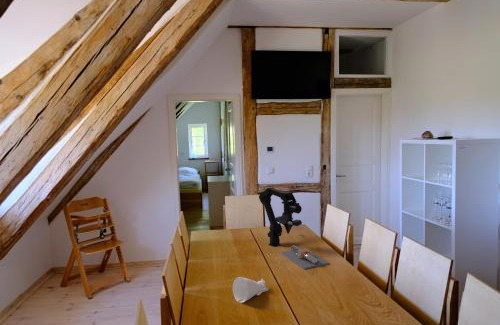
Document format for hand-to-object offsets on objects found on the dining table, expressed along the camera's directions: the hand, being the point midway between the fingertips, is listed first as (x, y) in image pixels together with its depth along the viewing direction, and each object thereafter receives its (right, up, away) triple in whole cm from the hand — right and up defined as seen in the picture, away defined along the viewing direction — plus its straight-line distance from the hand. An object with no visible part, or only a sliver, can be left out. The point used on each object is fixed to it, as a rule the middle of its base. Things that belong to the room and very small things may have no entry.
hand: (288, 233), depth 219 cm
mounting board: (+9, -13, -14) cm, 21 cm away
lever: (+4, -11, -15) cm, 19 cm away
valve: (+9, -13, -14) cm, 21 cm away
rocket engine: (-24, -18, -60) cm, 67 cm away
